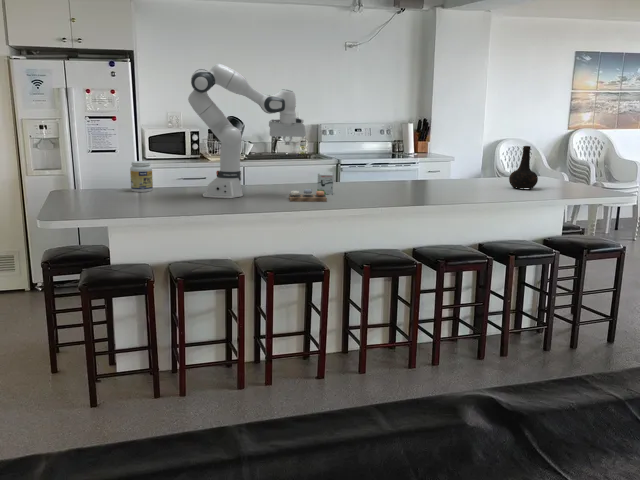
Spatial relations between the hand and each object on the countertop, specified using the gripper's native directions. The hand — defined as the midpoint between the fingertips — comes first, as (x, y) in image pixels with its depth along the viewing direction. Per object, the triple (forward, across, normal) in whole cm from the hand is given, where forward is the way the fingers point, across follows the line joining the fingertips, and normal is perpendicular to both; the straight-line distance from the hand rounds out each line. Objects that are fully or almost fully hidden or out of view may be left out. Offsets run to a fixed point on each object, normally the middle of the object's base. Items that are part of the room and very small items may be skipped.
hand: (287, 144), depth 337 cm
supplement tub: (+29, -84, +16) cm, 90 cm away
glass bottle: (+30, +156, +37) cm, 163 cm away
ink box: (+29, +23, +10) cm, 39 cm away
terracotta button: (+26, +18, -12) cm, 34 cm away
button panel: (+29, +11, -12) cm, 33 cm away
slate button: (+25, +11, -12) cm, 30 cm away
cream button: (+26, +4, -12) cm, 29 cm away
